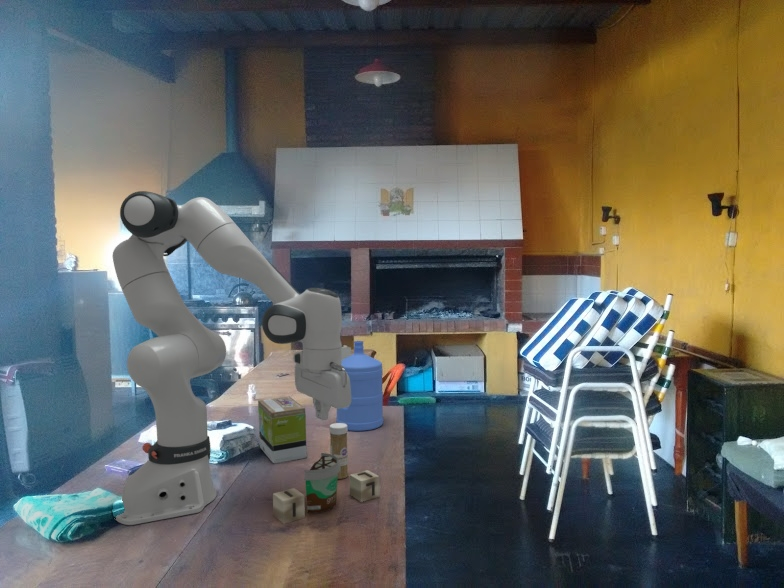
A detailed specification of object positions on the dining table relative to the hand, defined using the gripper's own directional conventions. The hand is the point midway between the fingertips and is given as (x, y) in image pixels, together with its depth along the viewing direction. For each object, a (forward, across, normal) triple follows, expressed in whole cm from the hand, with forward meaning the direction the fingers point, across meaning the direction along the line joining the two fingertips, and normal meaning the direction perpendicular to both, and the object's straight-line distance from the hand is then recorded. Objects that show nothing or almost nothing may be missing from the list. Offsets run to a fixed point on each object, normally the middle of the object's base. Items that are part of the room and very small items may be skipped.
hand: (321, 418), depth 134 cm
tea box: (+20, +34, -6) cm, 40 cm away
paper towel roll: (+20, +76, -52) cm, 94 cm away
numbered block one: (+19, -4, +10) cm, 22 cm away
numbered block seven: (+19, -5, -9) cm, 22 cm away
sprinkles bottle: (+19, +9, -10) cm, 24 cm away
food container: (+19, -4, +1) cm, 20 cm away
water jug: (+20, +44, -39) cm, 62 cm away
